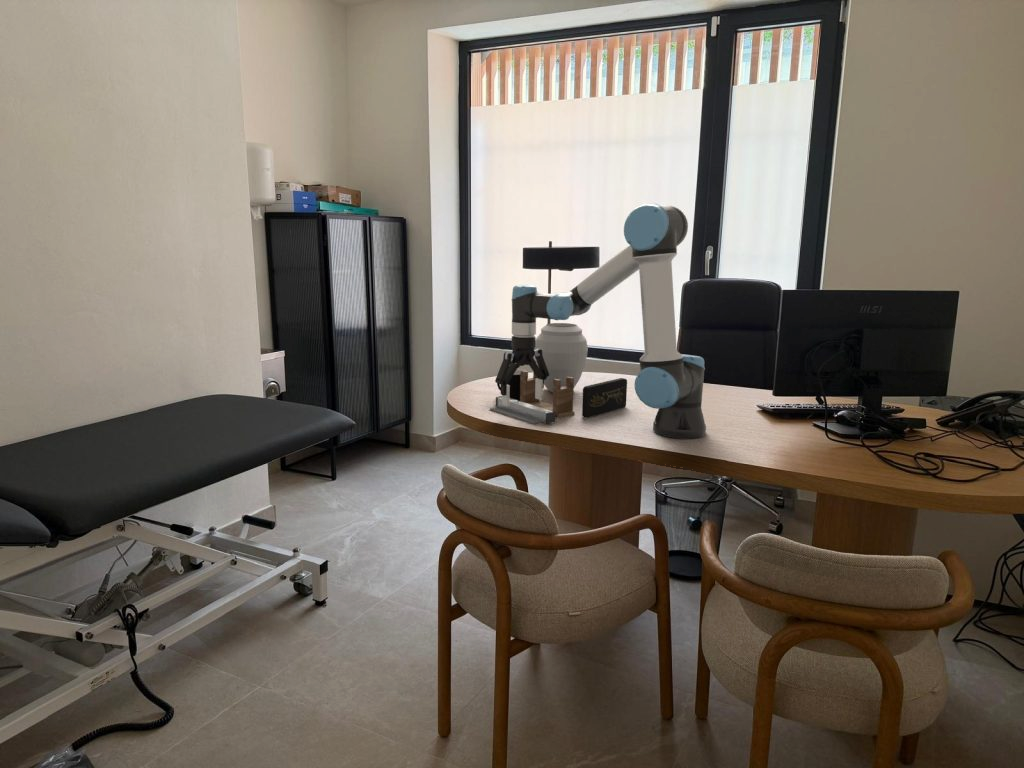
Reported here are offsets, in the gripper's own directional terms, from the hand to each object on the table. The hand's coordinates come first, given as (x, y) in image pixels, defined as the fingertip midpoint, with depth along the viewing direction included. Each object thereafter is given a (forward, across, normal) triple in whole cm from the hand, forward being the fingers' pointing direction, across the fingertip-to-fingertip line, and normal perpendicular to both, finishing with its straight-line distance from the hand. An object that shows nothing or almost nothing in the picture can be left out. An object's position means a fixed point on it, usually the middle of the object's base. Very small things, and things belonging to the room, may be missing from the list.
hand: (522, 402), depth 219 cm
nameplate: (+5, -24, +13) cm, 28 cm away
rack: (+4, -10, 0) cm, 11 cm away
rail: (+4, 0, +1) cm, 4 cm away
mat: (+4, 0, 0) cm, 4 cm away
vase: (+4, -33, -18) cm, 38 cm away
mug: (+4, -10, -18) cm, 21 cm away
